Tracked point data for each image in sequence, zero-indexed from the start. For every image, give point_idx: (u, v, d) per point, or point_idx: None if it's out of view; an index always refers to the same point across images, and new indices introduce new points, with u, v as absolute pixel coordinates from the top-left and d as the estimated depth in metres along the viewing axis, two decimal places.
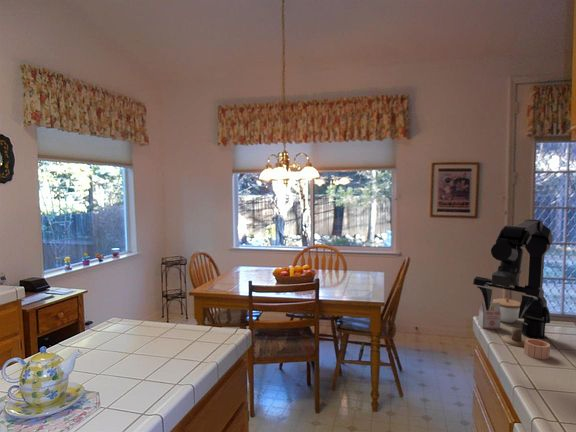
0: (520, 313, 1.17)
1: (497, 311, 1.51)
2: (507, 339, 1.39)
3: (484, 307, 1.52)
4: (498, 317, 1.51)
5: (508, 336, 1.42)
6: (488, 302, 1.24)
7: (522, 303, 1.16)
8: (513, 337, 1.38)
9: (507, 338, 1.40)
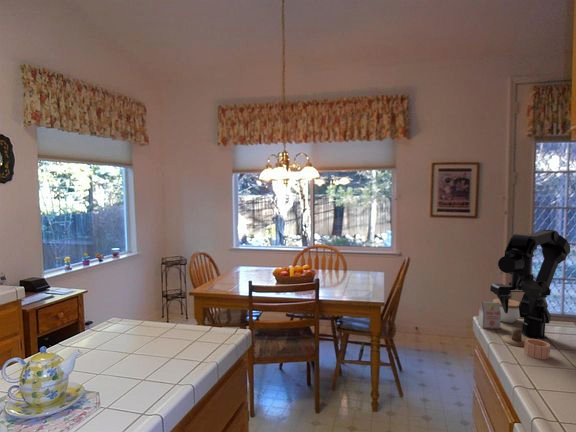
0: (533, 309, 1.37)
1: (497, 311, 1.51)
2: (507, 339, 1.39)
3: (484, 307, 1.52)
4: (498, 317, 1.51)
5: (508, 336, 1.42)
6: None
7: (536, 301, 1.36)
8: (513, 337, 1.38)
9: (507, 338, 1.40)
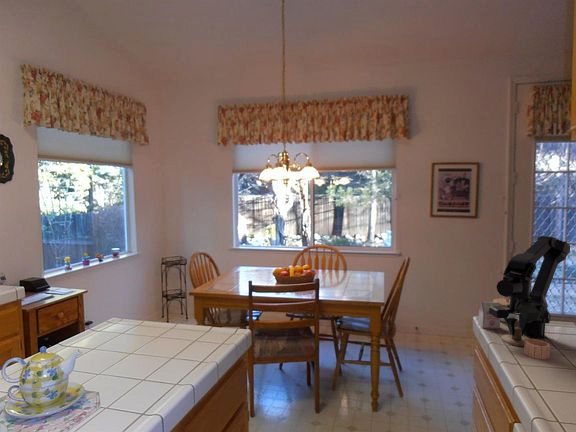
0: (523, 332, 1.38)
1: None
2: (507, 338, 1.39)
3: (484, 307, 1.52)
4: None
5: (508, 335, 1.42)
6: None
7: (526, 324, 1.37)
8: (513, 336, 1.38)
9: (507, 337, 1.40)
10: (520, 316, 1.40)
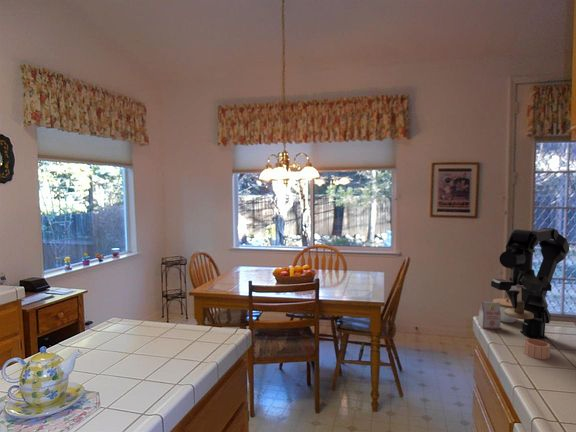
0: (526, 305, 1.37)
1: (497, 311, 1.51)
2: (509, 311, 1.38)
3: (484, 307, 1.52)
4: (498, 317, 1.51)
5: (510, 309, 1.41)
6: None
7: (528, 297, 1.36)
8: (515, 309, 1.37)
9: (509, 311, 1.39)
10: (522, 289, 1.39)
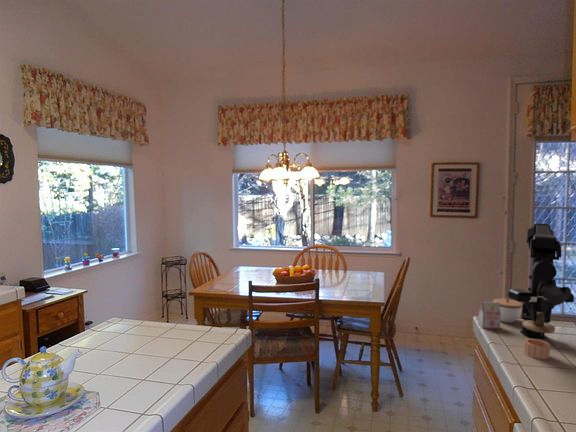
0: (546, 317, 1.27)
1: (497, 311, 1.51)
2: (528, 324, 1.28)
3: (484, 307, 1.52)
4: (498, 317, 1.51)
5: (529, 321, 1.31)
6: None
7: (549, 308, 1.26)
8: (535, 322, 1.27)
9: (528, 323, 1.29)
10: (542, 300, 1.29)
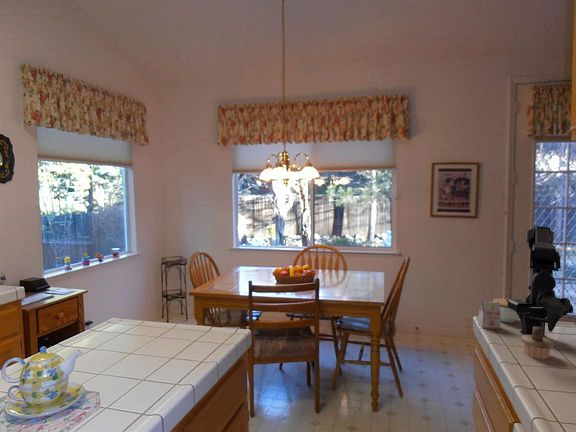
0: (552, 328, 1.27)
1: (497, 311, 1.51)
2: (527, 339, 1.28)
3: (484, 307, 1.52)
4: (498, 317, 1.51)
5: (528, 336, 1.31)
6: None
7: (555, 319, 1.26)
8: (534, 337, 1.27)
9: (527, 338, 1.29)
10: None
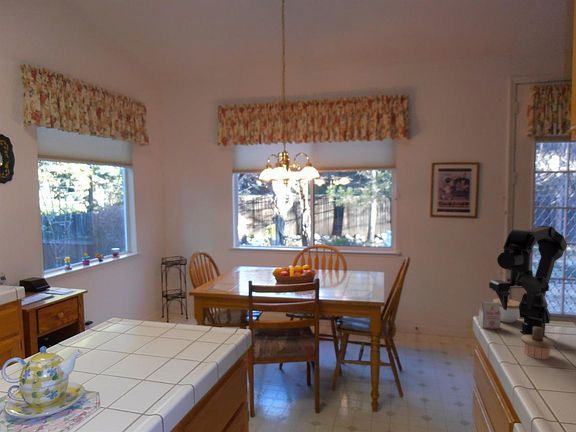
0: (532, 305, 1.36)
1: (497, 311, 1.51)
2: (527, 339, 1.28)
3: (484, 307, 1.52)
4: (498, 317, 1.51)
5: (528, 336, 1.31)
6: None
7: (534, 297, 1.35)
8: (534, 337, 1.27)
9: (527, 338, 1.29)
10: None
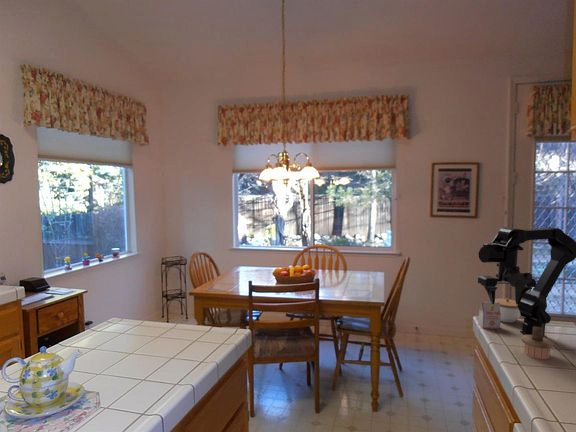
0: (519, 301, 1.41)
1: (497, 311, 1.51)
2: (527, 339, 1.28)
3: (484, 307, 1.52)
4: (498, 317, 1.51)
5: (528, 336, 1.31)
6: None
7: (522, 293, 1.40)
8: (534, 337, 1.27)
9: (527, 338, 1.29)
10: None
